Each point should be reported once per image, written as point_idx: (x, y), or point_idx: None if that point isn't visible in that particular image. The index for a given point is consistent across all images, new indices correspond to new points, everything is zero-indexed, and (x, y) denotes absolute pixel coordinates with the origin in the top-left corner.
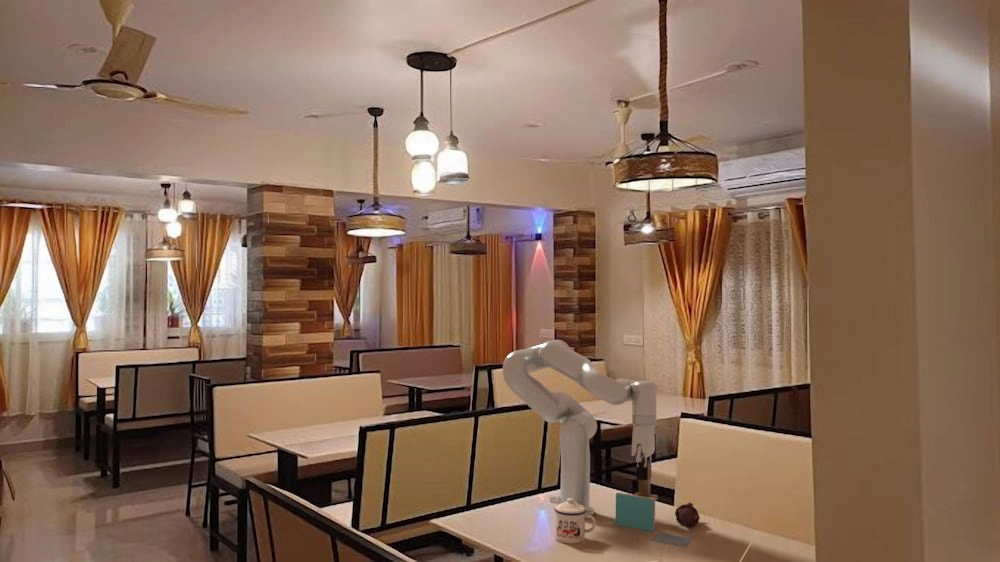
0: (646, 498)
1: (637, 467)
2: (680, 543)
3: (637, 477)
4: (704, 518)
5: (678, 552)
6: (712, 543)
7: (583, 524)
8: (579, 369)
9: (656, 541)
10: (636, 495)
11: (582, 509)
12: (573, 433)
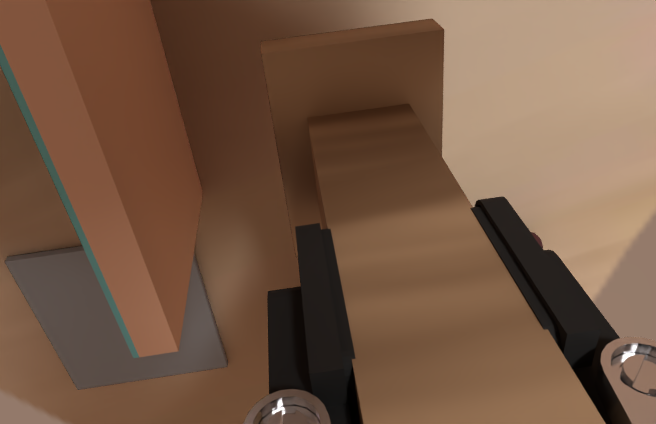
0: (112, 307)
1: (311, 361)
2: (103, 360)
3: (297, 238)
4: (586, 285)
5: (5, 382)
6: (238, 416)
7: None
8: None
9: (21, 282)
10: (119, 206)
11: None
12: None
